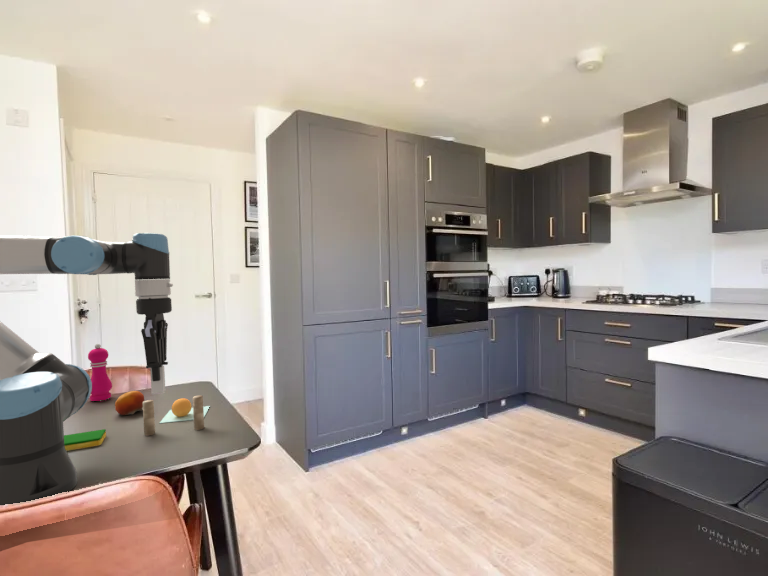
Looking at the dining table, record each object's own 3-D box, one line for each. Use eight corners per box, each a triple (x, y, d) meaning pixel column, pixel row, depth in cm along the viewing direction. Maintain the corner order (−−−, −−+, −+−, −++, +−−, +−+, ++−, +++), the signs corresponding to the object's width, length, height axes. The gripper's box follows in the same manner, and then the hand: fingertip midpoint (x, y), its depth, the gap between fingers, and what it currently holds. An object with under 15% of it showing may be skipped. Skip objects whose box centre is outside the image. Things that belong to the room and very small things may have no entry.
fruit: (136, 413, 126) (123, 390, 126) (118, 425, 127) (105, 403, 128) (155, 404, 134) (143, 383, 134) (138, 416, 135) (126, 395, 136)
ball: (173, 402, 128) (174, 420, 126) (169, 398, 124) (170, 416, 122) (192, 398, 130) (193, 416, 128) (189, 394, 126) (190, 412, 123)
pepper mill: (116, 398, 148) (113, 342, 147) (94, 403, 142) (90, 346, 141) (107, 395, 152) (104, 341, 151) (84, 400, 145) (81, 344, 145)
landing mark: (159, 423, 120) (159, 422, 120) (170, 410, 132) (170, 409, 132) (203, 418, 123) (203, 418, 123) (210, 406, 135) (210, 405, 135)
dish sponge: (43, 447, 107) (42, 438, 107) (106, 437, 112) (106, 428, 112) (33, 458, 100) (32, 448, 100) (100, 447, 106) (100, 437, 106)
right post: (193, 430, 114) (191, 398, 114) (195, 427, 116) (193, 395, 116) (203, 429, 115) (201, 397, 114) (205, 426, 117) (203, 395, 117)
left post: (142, 436, 111) (141, 403, 111) (146, 432, 113) (144, 400, 113) (153, 435, 112) (151, 402, 111) (156, 431, 114) (154, 399, 114)
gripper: (163, 298, 95) (168, 399, 95) (177, 295, 107) (181, 384, 108) (126, 299, 93) (132, 402, 94) (145, 296, 105) (150, 387, 106)
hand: (158, 392), depth 101 cm, fingers closed
